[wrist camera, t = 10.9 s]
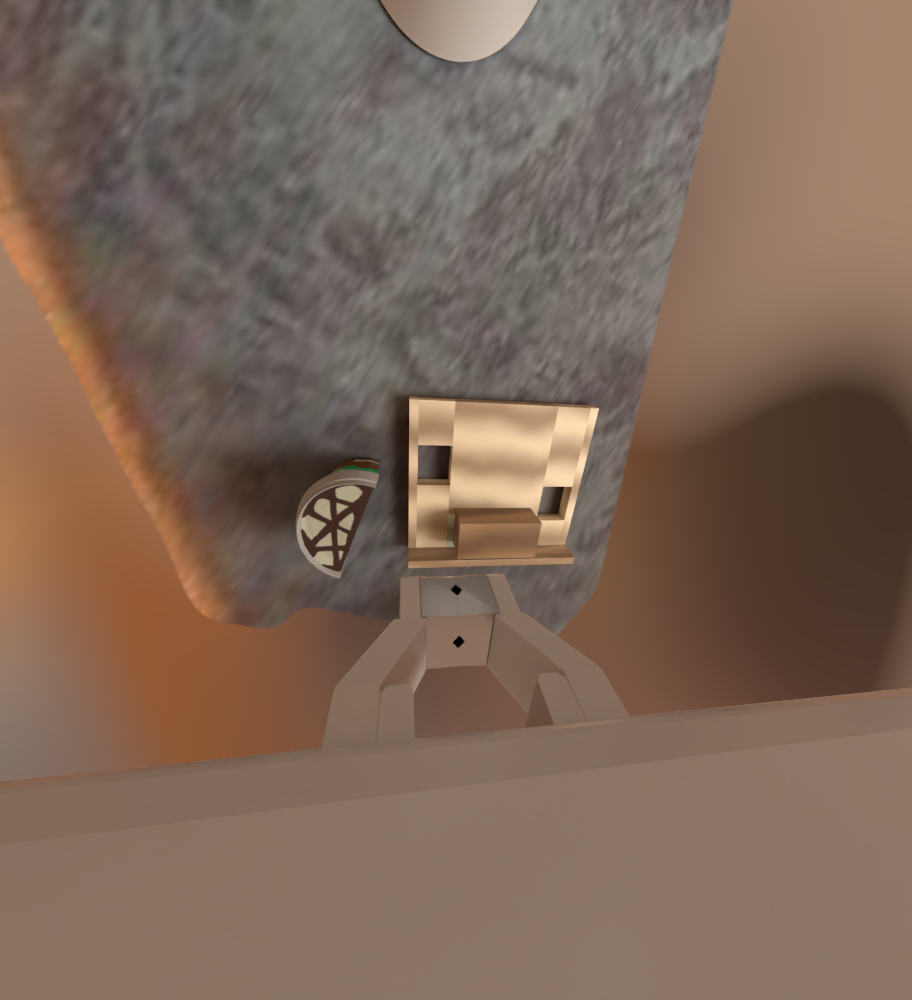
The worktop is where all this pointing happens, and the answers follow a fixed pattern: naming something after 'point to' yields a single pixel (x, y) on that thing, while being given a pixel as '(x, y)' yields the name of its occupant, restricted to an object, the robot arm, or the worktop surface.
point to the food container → (335, 513)
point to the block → (495, 533)
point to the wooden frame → (494, 471)
